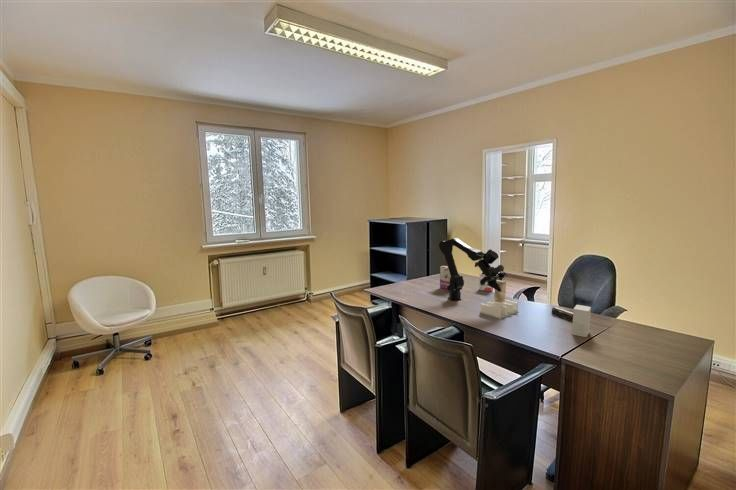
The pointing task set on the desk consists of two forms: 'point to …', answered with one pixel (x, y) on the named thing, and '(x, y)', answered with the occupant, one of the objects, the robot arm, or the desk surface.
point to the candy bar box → (444, 277)
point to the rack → (499, 309)
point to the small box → (581, 320)
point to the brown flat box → (562, 313)
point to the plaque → (500, 295)
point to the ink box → (484, 287)
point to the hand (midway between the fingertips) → (502, 290)
